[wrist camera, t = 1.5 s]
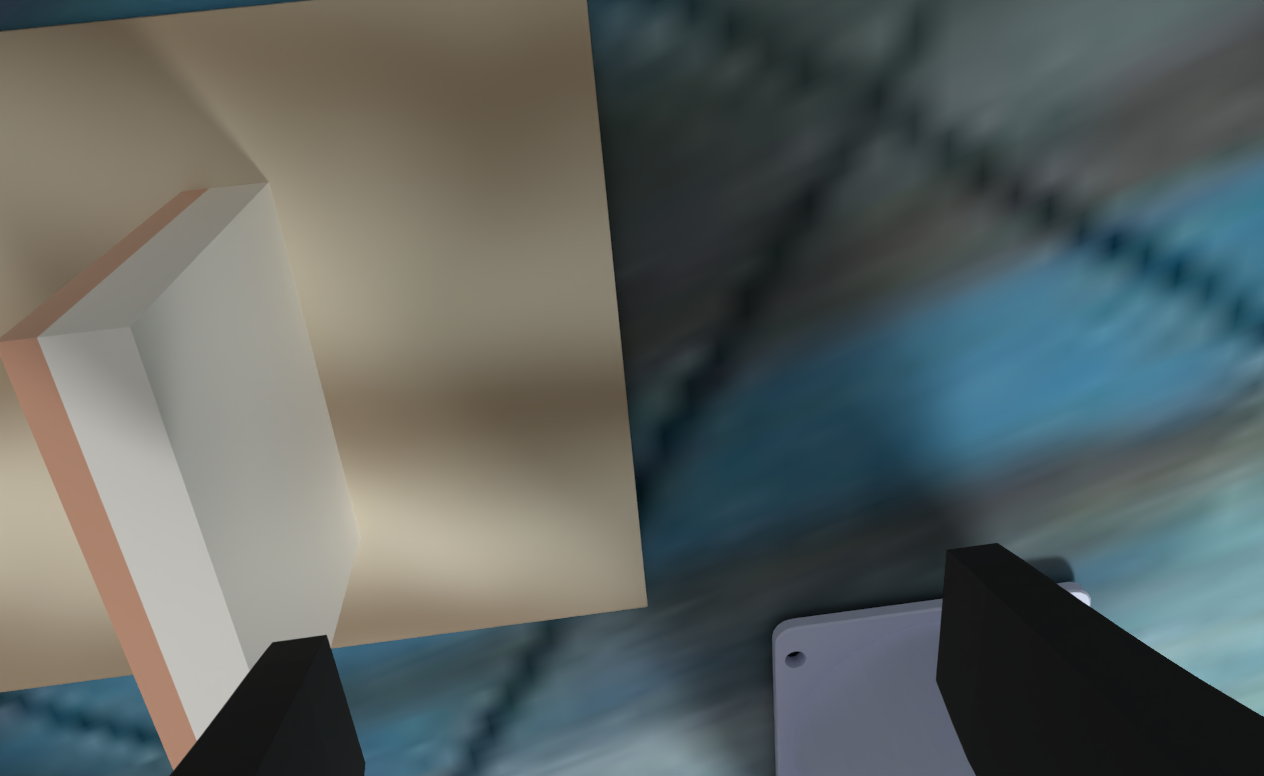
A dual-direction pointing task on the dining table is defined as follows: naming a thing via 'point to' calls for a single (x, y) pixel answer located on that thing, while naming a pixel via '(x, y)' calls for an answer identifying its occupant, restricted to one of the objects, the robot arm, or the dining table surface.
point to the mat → (352, 290)
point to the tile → (192, 448)
